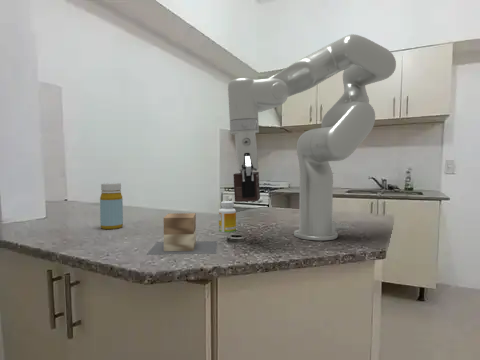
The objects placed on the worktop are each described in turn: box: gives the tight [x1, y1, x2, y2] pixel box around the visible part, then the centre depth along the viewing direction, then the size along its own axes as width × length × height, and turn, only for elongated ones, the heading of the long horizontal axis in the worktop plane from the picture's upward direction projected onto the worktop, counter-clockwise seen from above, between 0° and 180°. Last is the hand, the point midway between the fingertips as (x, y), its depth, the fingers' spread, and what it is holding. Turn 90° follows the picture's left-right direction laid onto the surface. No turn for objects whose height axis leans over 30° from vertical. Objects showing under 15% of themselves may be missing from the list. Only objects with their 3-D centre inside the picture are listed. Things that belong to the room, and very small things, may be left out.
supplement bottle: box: [218, 200, 237, 233], centre depth 100 cm, size 5×5×10 cm
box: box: [232, 171, 261, 203], centre depth 85 cm, size 6×6×7 cm
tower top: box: [163, 212, 197, 236], centre depth 80 cm, size 7×7×4 cm
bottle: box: [99, 182, 124, 230], centre depth 108 cm, size 7×7×15 cm
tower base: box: [163, 228, 197, 251], centre depth 80 cm, size 7×7×4 cm
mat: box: [146, 240, 218, 256], centre depth 80 cm, size 16×12×1 cm
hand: (247, 195), depth 85 cm, fingers closed on box, 6 cm apart
